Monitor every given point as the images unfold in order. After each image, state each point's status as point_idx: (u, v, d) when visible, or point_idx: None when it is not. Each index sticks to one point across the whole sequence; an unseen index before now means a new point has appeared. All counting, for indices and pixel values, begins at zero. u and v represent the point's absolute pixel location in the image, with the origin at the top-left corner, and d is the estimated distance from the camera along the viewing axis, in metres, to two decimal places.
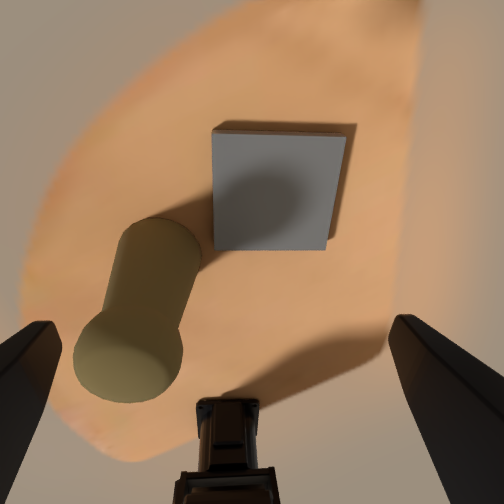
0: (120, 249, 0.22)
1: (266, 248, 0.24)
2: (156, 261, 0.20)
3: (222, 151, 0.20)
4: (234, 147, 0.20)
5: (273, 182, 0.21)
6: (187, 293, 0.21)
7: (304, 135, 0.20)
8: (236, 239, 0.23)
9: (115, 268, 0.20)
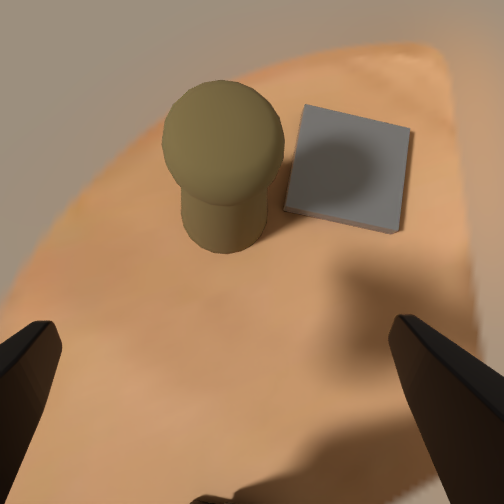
0: None
1: (338, 215, 0.23)
2: None
3: (311, 118, 0.24)
4: (321, 117, 0.24)
5: (350, 151, 0.24)
6: (266, 195, 0.19)
7: None
8: (309, 198, 0.23)
9: None
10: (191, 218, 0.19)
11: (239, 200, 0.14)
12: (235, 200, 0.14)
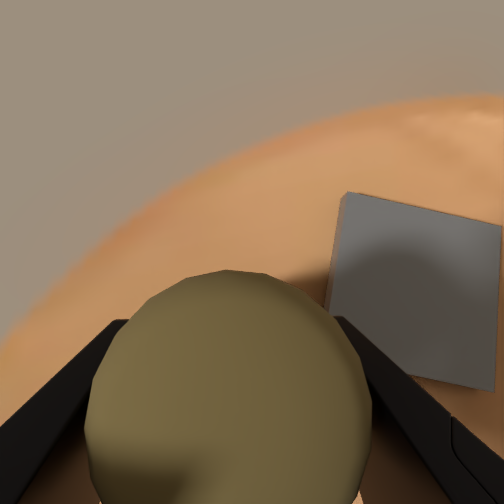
0: None
1: (402, 369, 0.15)
2: None
3: (357, 213, 0.16)
4: (371, 211, 0.17)
5: (416, 264, 0.16)
6: None
7: None
8: None
9: None
10: None
11: None
12: None
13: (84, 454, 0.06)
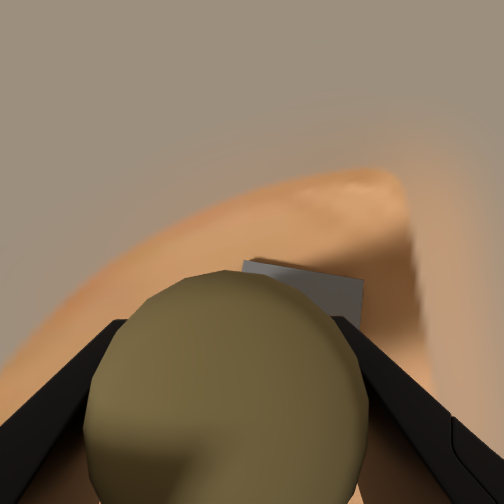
0: None
1: None
2: None
3: None
4: None
5: None
6: None
7: (325, 274, 0.22)
8: None
9: None
10: None
11: None
12: None
13: (84, 454, 0.06)
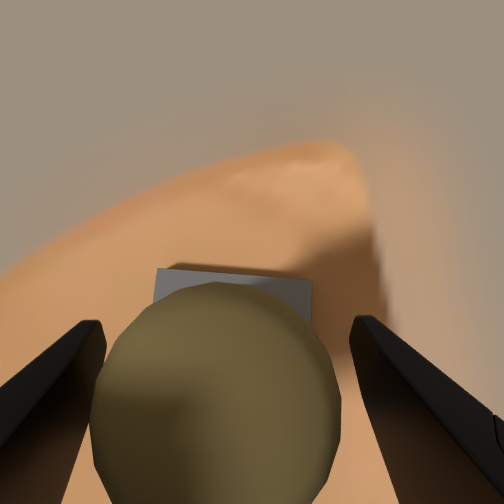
0: None
1: None
2: None
3: (167, 288, 0.17)
4: (182, 285, 0.17)
5: None
6: None
7: None
8: None
9: None
10: None
11: None
12: None
13: (40, 456, 0.06)
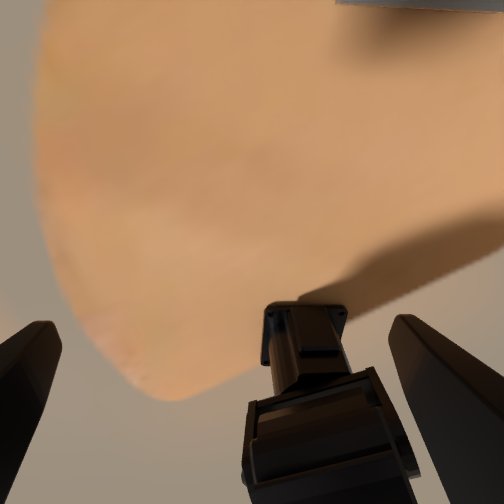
0: None
1: (421, 2, 0.15)
2: None
3: None
4: None
5: None
6: None
7: None
8: None
9: None
10: None
11: None
12: None
13: None
